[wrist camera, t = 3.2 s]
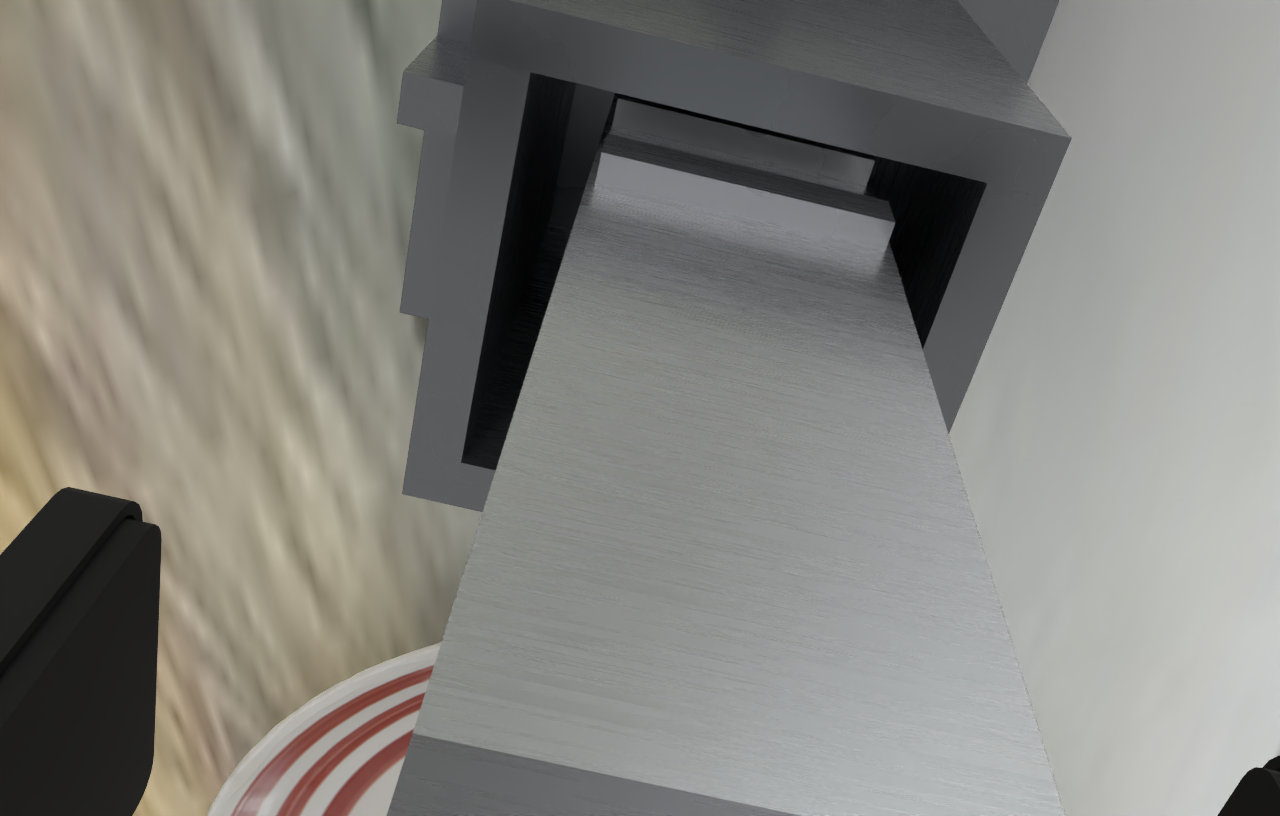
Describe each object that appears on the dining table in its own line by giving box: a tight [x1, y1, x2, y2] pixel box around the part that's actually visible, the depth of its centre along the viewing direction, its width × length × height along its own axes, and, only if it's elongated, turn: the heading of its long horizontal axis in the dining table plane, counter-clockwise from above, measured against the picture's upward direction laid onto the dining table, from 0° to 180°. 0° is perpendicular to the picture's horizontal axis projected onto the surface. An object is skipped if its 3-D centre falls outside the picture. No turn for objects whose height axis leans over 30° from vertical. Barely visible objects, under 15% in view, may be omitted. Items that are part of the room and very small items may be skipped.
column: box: [387, 93, 1065, 816], centre depth 16 cm, size 5×4×21 cm
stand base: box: [397, 0, 1071, 512], centre depth 22 cm, size 12×12×11 cm
